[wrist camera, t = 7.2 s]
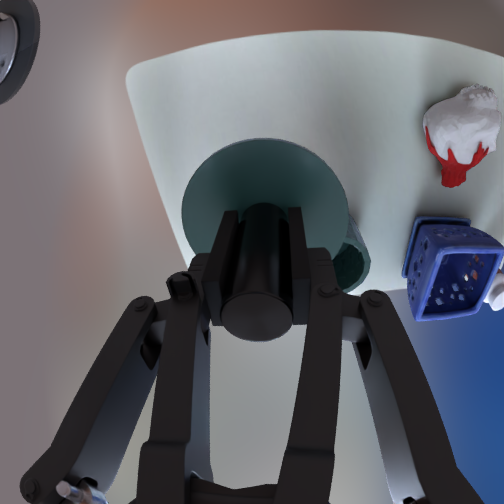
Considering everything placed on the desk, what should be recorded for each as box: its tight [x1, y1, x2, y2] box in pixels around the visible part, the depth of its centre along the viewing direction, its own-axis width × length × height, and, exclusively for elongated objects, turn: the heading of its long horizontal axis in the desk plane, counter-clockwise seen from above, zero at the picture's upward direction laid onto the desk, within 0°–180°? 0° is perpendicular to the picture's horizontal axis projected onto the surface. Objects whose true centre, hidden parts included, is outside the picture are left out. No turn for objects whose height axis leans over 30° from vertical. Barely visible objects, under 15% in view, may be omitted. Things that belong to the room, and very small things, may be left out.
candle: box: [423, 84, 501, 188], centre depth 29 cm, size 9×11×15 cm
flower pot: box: [402, 217, 504, 321], centre depth 38 cm, size 13×13×12 cm
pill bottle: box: [466, 255, 504, 311], centre depth 40 cm, size 6×6×11 cm
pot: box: [332, 215, 371, 293], centre depth 41 cm, size 10×10×8 cm
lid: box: [182, 138, 349, 342], centre depth 16 cm, size 11×11×9 cm
